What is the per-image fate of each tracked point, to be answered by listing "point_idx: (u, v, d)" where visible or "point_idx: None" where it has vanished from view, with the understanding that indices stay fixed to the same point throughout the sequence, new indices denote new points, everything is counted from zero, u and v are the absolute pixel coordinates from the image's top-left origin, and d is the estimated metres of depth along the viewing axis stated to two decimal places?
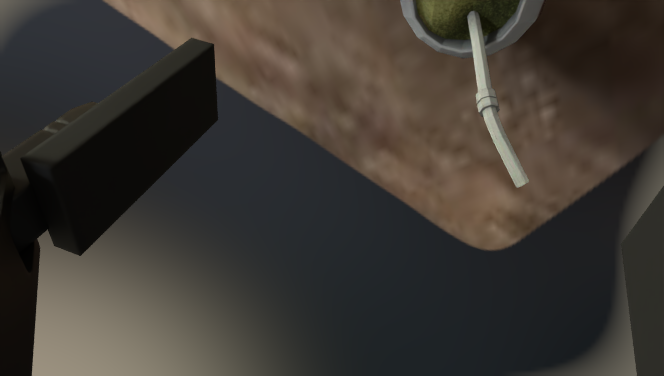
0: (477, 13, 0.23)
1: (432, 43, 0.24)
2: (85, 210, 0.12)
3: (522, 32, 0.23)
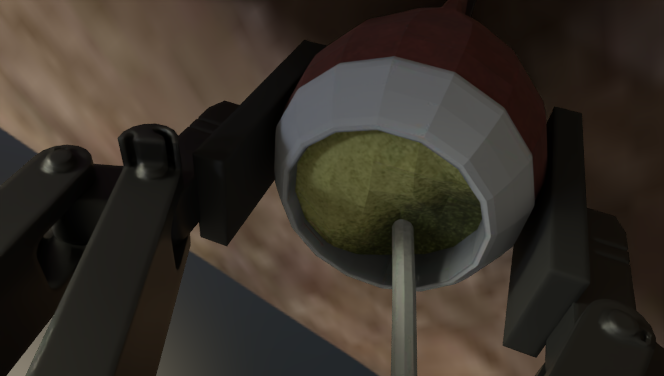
0: (409, 225, 0.13)
1: (333, 266, 0.14)
2: (235, 203, 0.12)
3: None
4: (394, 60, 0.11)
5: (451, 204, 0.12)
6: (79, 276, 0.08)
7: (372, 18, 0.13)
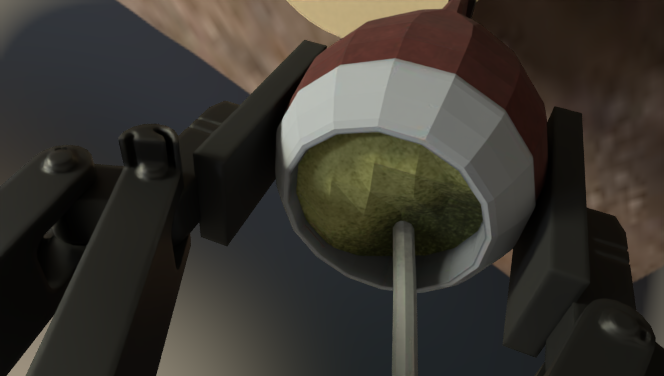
0: (410, 226, 0.13)
1: None
2: (235, 203, 0.12)
3: None
4: (395, 63, 0.11)
5: (452, 205, 0.12)
6: (79, 276, 0.08)
7: (373, 20, 0.13)
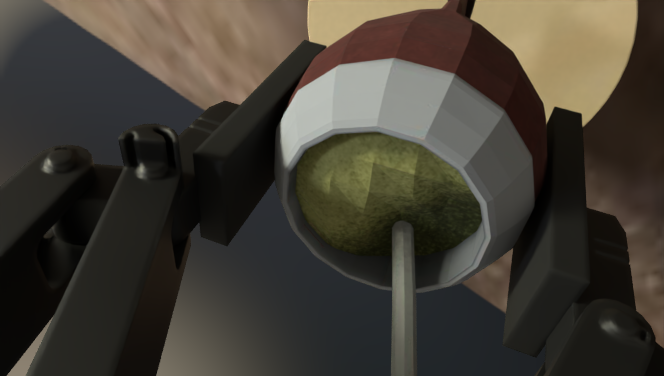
0: (409, 226, 0.13)
1: None
2: (235, 203, 0.12)
3: None
4: (394, 62, 0.11)
5: (451, 205, 0.12)
6: (79, 276, 0.08)
7: None
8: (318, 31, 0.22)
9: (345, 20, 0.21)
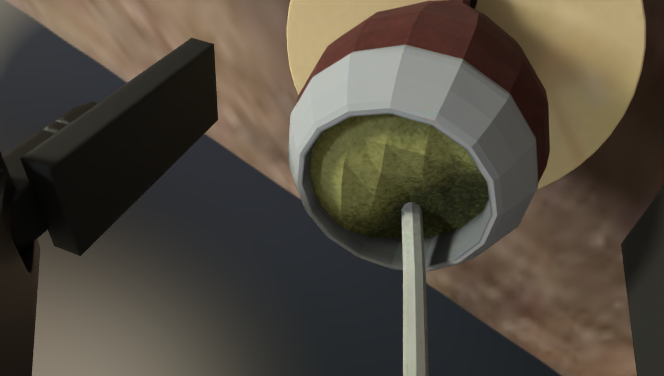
0: (418, 207, 0.13)
1: (345, 248, 0.14)
2: (85, 210, 0.12)
3: (495, 242, 0.13)
4: (405, 48, 0.11)
5: (459, 187, 0.13)
6: None
7: (382, 11, 0.14)
8: (298, 54, 0.20)
9: (327, 43, 0.19)
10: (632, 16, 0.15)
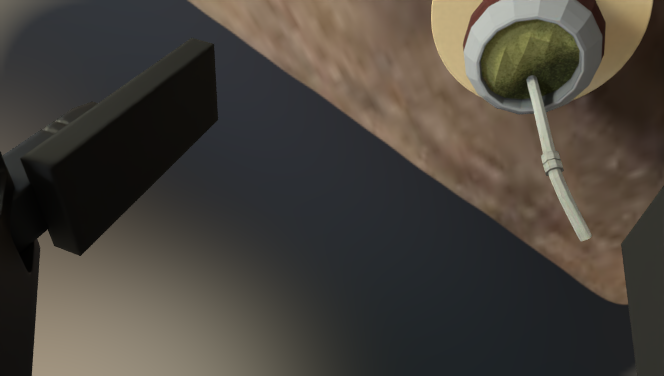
0: (536, 77, 0.26)
1: (493, 102, 0.27)
2: (85, 210, 0.12)
3: (576, 95, 0.26)
4: None
5: (560, 63, 0.25)
6: None
7: None
8: (439, 10, 0.32)
9: (459, 2, 0.32)
10: None
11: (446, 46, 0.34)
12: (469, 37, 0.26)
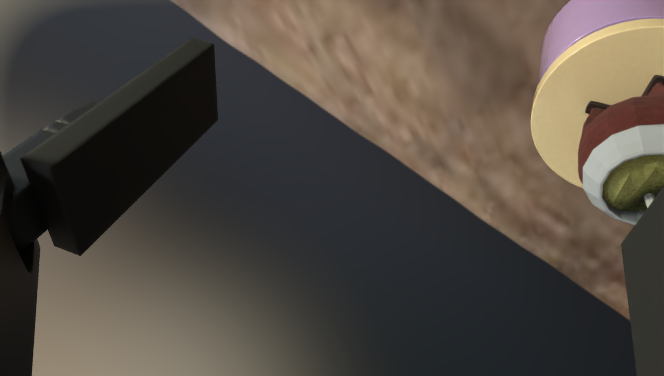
0: (653, 195, 0.28)
1: (612, 215, 0.29)
2: (85, 210, 0.12)
3: None
4: None
5: None
6: None
7: (634, 101, 0.28)
8: (540, 109, 0.35)
9: (561, 104, 0.34)
10: None
11: (544, 140, 0.36)
12: (591, 158, 0.28)
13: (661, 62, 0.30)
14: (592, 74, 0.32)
